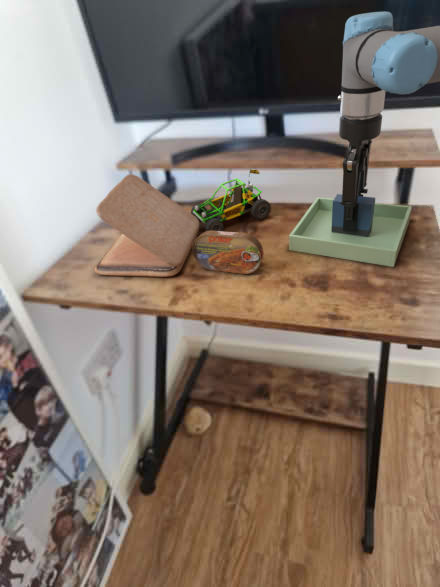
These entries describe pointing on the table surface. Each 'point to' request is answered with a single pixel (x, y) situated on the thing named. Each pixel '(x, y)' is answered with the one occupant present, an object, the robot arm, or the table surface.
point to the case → (145, 231)
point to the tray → (372, 249)
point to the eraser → (363, 216)
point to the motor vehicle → (232, 205)
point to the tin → (228, 251)
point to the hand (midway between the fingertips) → (351, 226)
